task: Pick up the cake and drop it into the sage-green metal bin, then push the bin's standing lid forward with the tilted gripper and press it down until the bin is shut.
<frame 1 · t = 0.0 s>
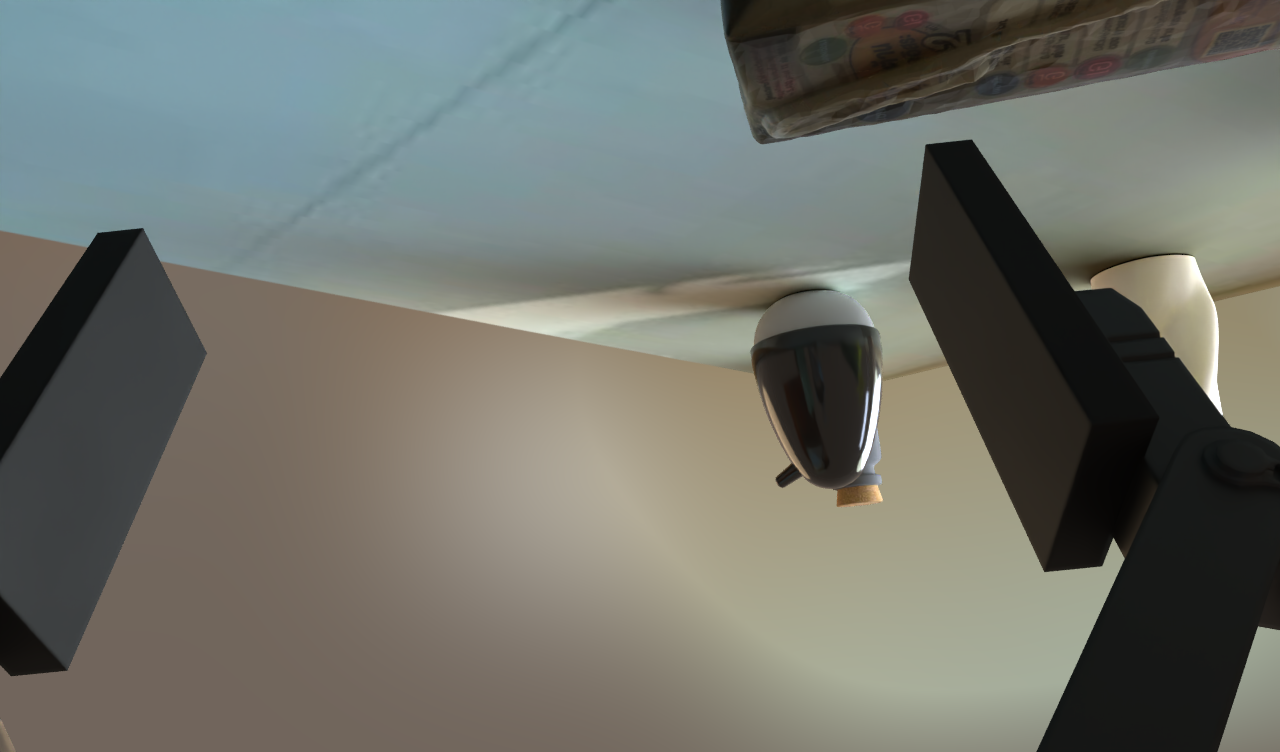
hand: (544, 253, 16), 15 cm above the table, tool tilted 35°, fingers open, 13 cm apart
water bottle: (1131, 270, 78), on the table
pump dispenser: (806, 297, 76), on the table
bottle: (838, 362, 102), on the table
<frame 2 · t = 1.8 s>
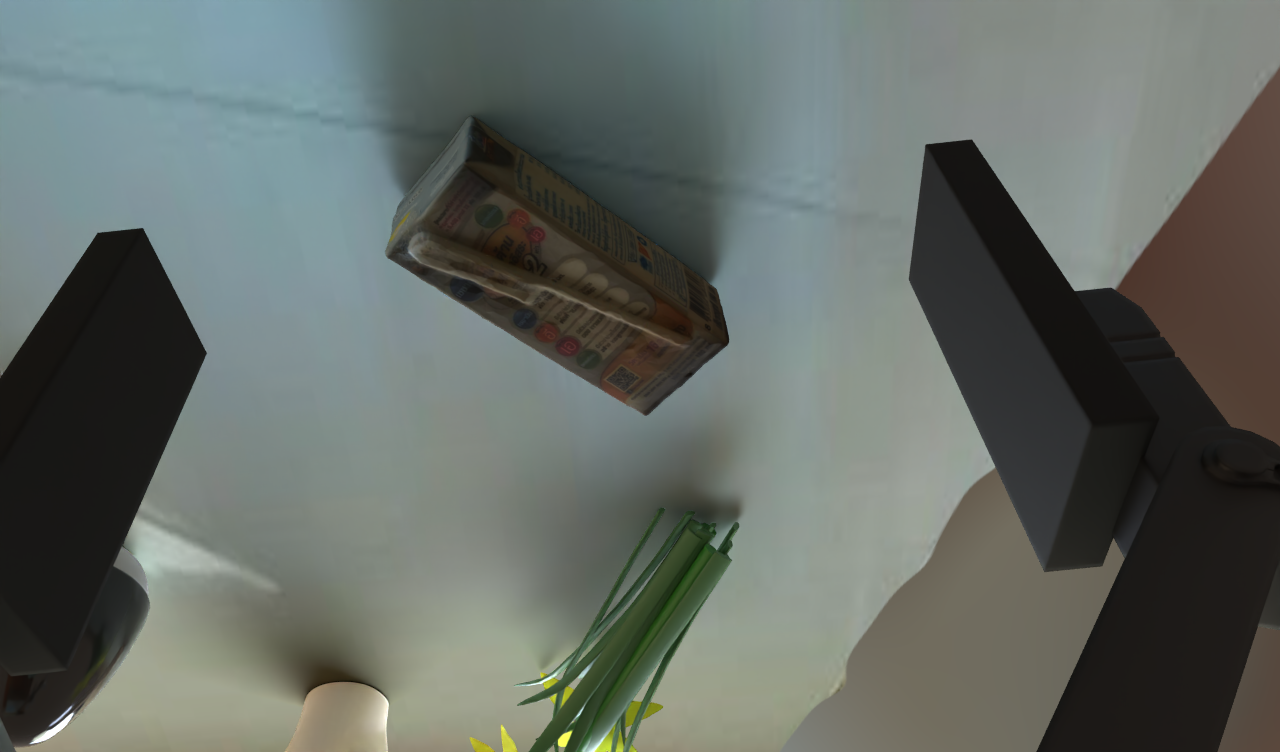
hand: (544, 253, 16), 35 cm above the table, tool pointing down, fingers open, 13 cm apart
beverage carton: (565, 243, 58), on the table
water bottle: (340, 700, 90), on the table
pump dispenser: (94, 555, 74), on the table
daffodil flowers: (600, 605, 82), on the table
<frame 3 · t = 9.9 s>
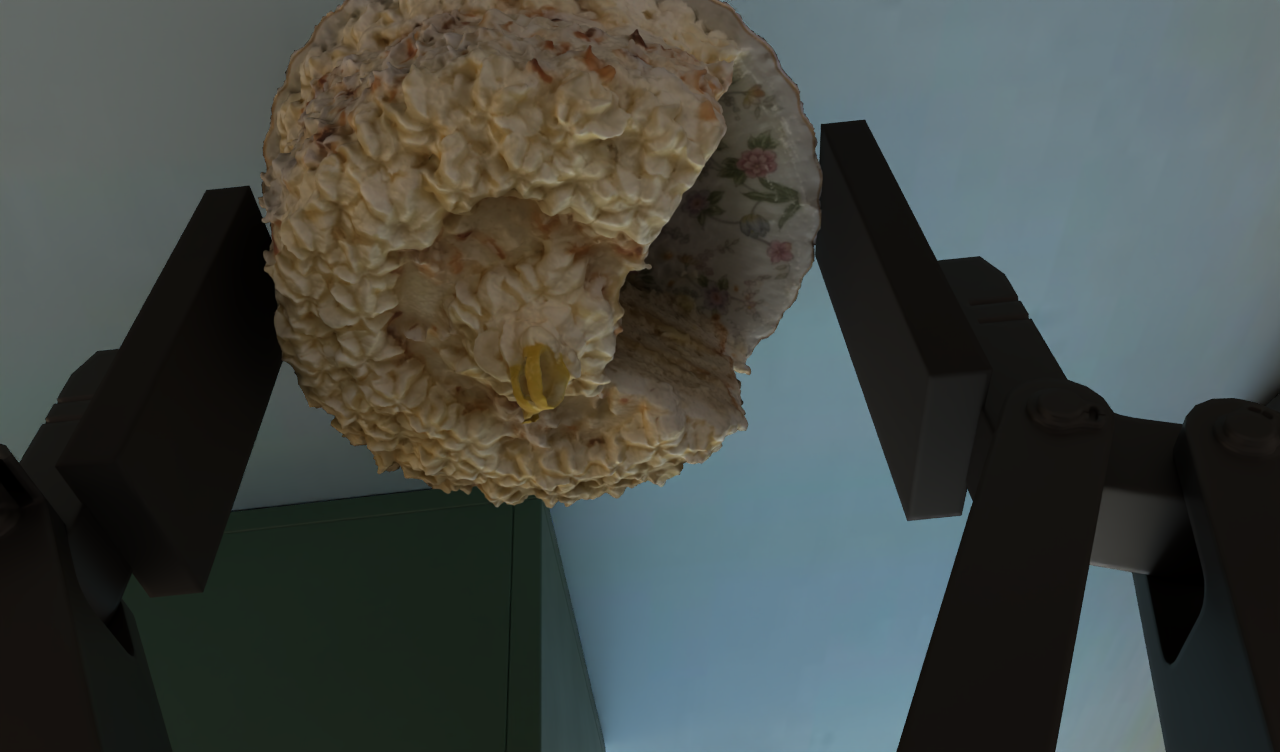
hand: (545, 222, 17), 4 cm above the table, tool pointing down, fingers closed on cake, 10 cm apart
bin: (354, 659, 33), on the table
cake: (547, 210, 18), point 3 cm above the table, touching gripper
when the fingers open (12 cm above the table, at t = 14.3 s): cake drops 11 cm, resting on bin.
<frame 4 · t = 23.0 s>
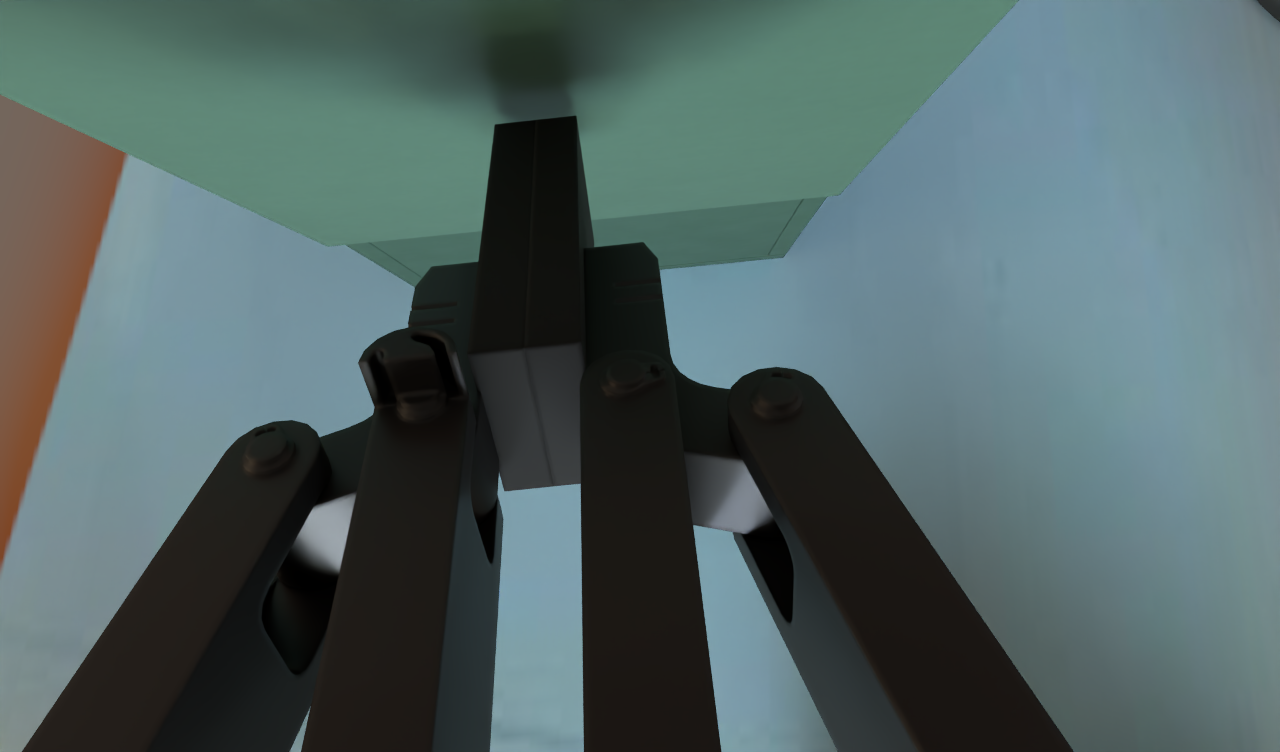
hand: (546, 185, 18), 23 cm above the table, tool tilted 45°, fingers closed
bin: (585, 87, 41), on the table
bin lid: (550, 126, 20), point 21 cm above the table, hinge at 92.1°, touching gripper
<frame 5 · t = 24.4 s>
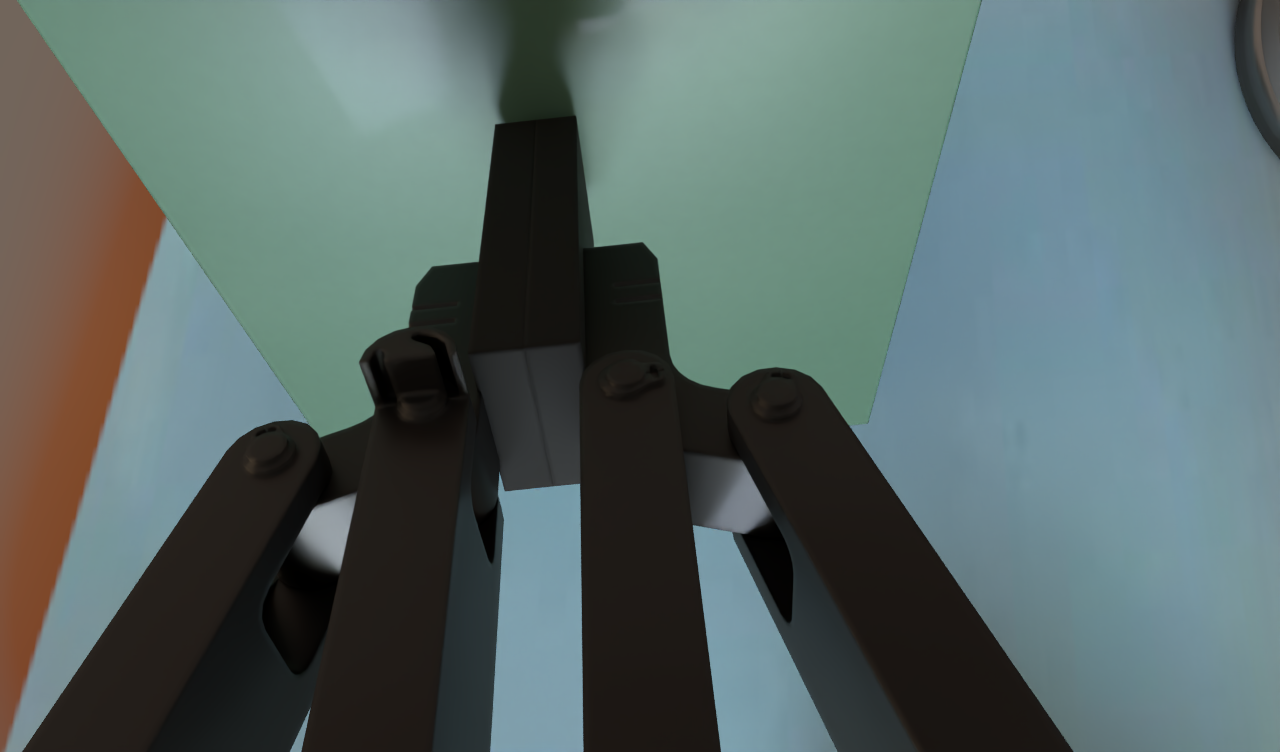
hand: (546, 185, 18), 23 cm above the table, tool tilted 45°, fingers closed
bin lid: (567, 243, 21), point 20 cm above the table, hinge at 59.8°, touching gripper
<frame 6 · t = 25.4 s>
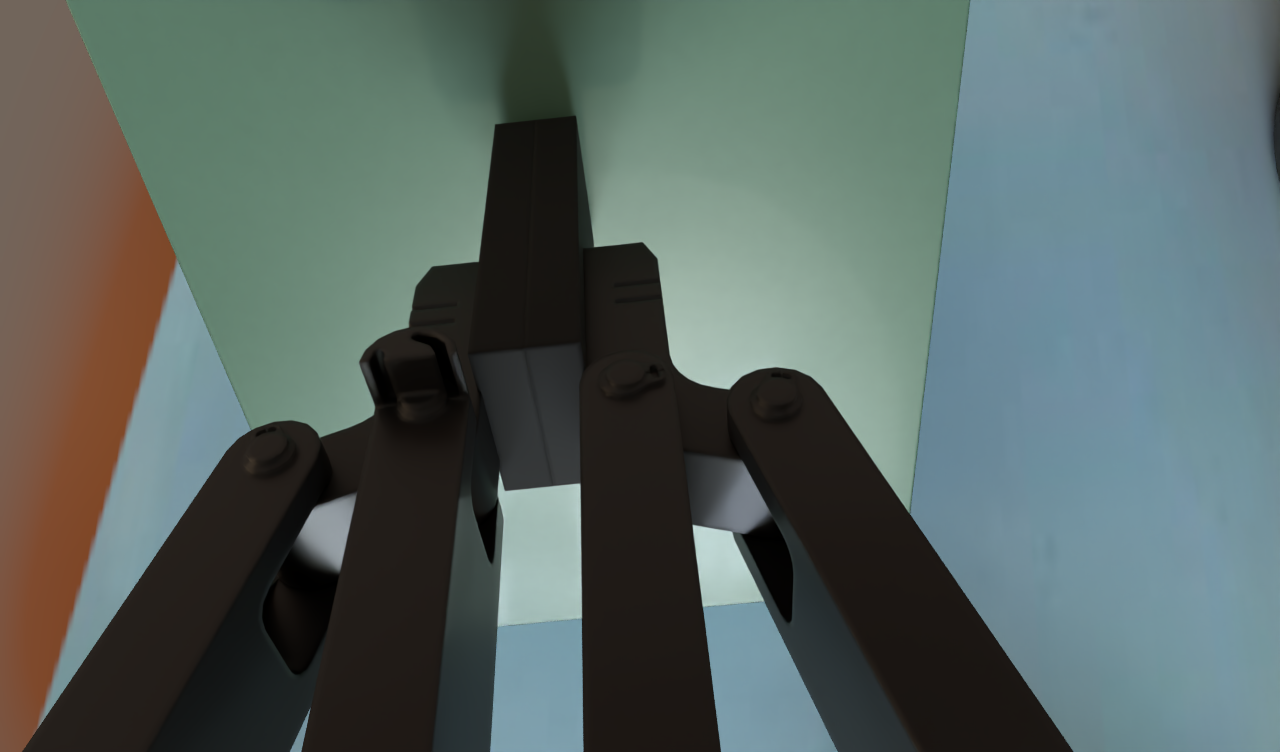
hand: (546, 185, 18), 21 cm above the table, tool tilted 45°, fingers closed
bin lid: (582, 352, 21), point 18 cm above the table, hinge at 40.0°, touching gripper
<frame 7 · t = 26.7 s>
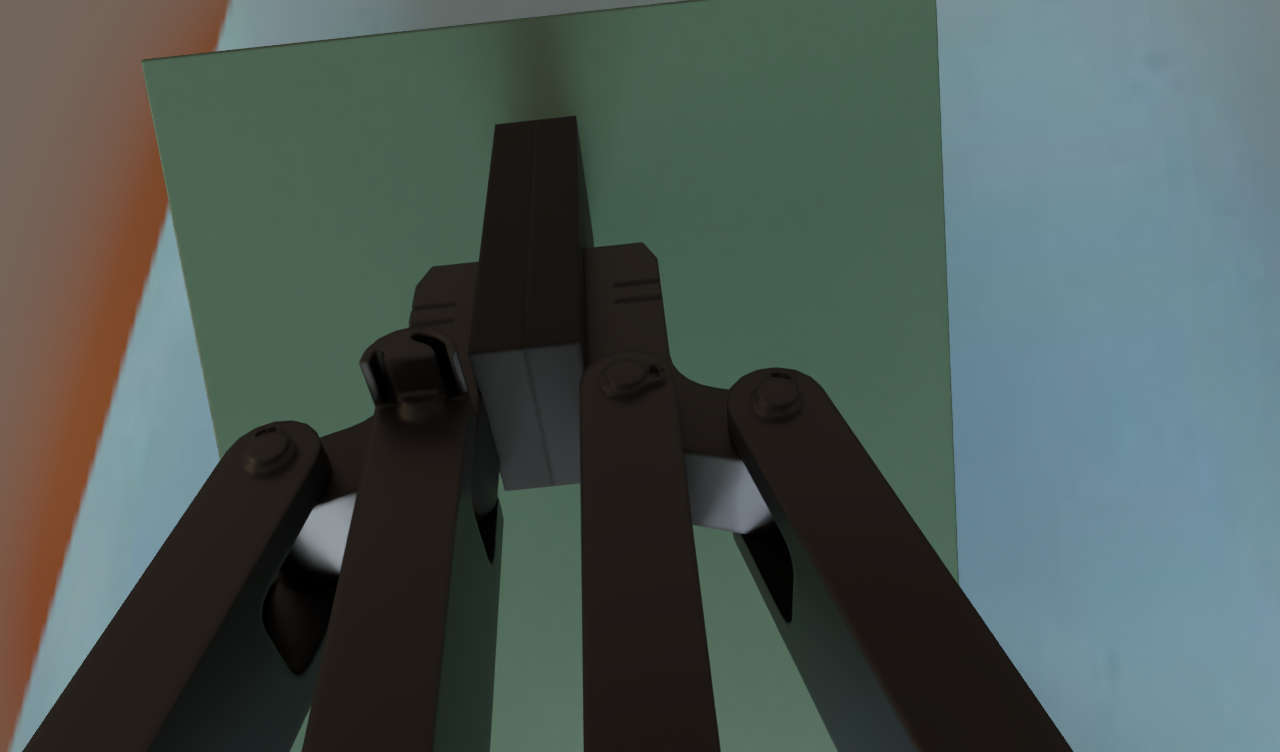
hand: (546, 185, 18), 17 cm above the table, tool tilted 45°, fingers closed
bin lid: (586, 441, 21), point 14 cm above the table, hinge at 14.8°, touching gripper
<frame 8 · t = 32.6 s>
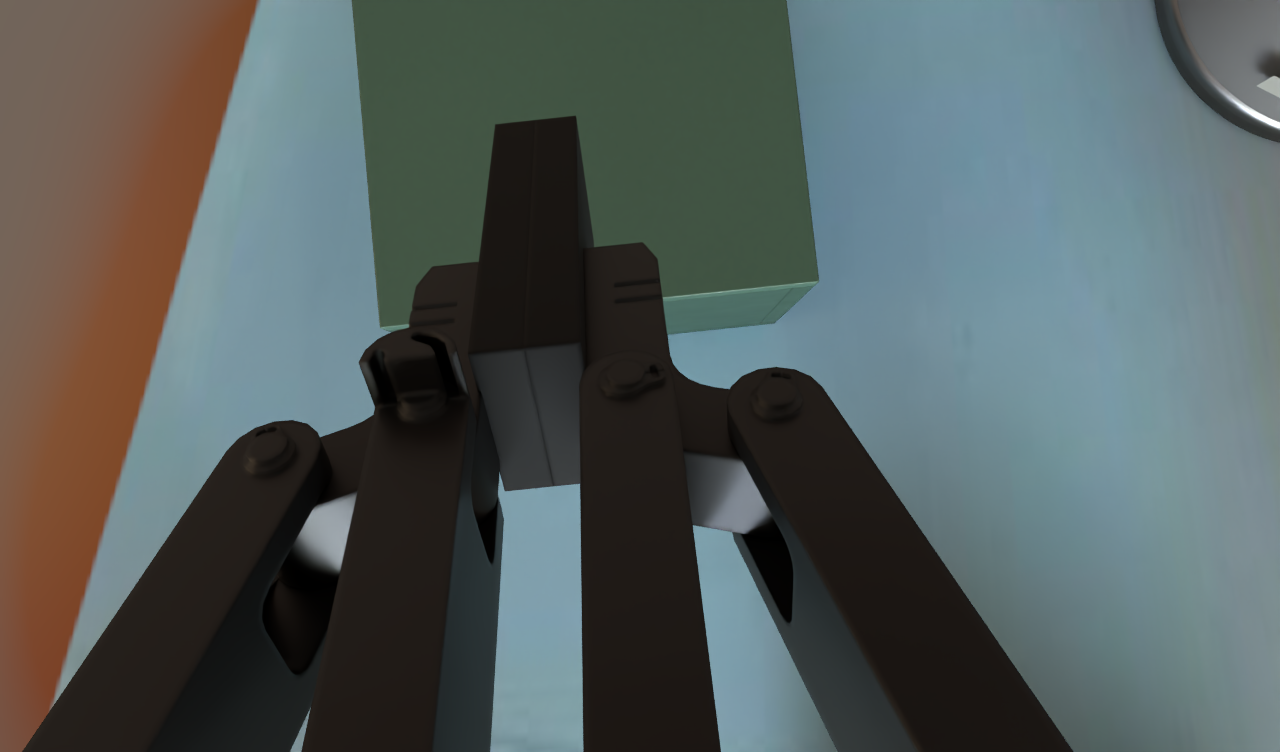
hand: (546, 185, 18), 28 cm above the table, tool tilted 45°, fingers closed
bin: (598, 172, 47), on the table
bin lid: (575, 69, 34), point 12 cm above the table, hinge at -0.2°, touching bin
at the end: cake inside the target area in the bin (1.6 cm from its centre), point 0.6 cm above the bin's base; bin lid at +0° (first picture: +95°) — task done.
